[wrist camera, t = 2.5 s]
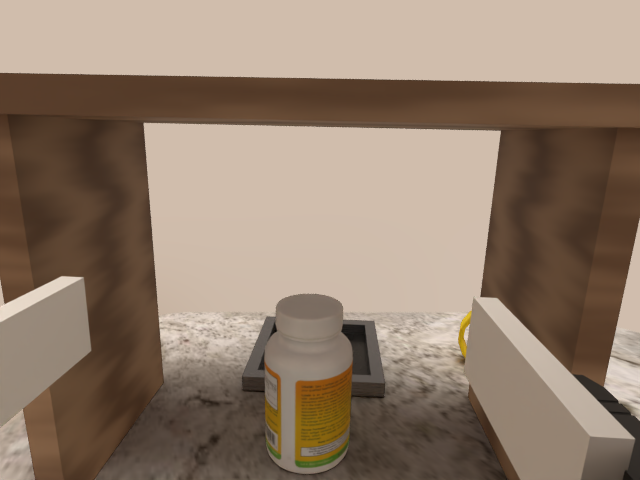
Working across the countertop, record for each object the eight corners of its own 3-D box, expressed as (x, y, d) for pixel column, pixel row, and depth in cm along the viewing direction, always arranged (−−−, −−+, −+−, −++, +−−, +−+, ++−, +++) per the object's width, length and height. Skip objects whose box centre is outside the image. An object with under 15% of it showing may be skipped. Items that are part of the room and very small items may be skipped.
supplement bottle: (360, 431, 28) (367, 297, 26) (328, 490, 24) (333, 333, 21) (291, 409, 31) (291, 283, 28) (248, 458, 26) (245, 313, 23)
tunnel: (574, 555, 20) (678, 84, 15) (34, 520, 21) (-47, 72, 16) (485, 394, 33) (524, 107, 28) (147, 377, 34) (123, 99, 29)
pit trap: (384, 397, 32) (385, 383, 32) (242, 390, 33) (242, 376, 32) (373, 331, 43) (374, 320, 43) (266, 327, 43) (266, 316, 43)
